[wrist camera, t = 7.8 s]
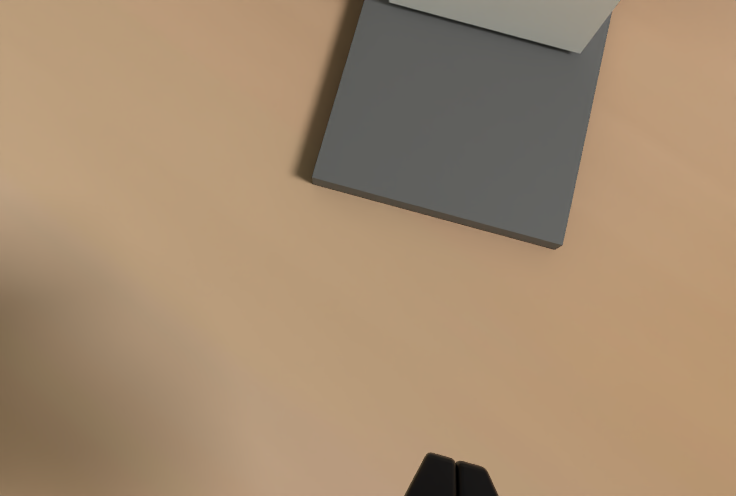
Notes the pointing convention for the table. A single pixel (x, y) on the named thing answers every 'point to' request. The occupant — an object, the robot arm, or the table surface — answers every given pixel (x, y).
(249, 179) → the table surface
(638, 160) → the table surface
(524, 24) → the block
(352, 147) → the grey block
